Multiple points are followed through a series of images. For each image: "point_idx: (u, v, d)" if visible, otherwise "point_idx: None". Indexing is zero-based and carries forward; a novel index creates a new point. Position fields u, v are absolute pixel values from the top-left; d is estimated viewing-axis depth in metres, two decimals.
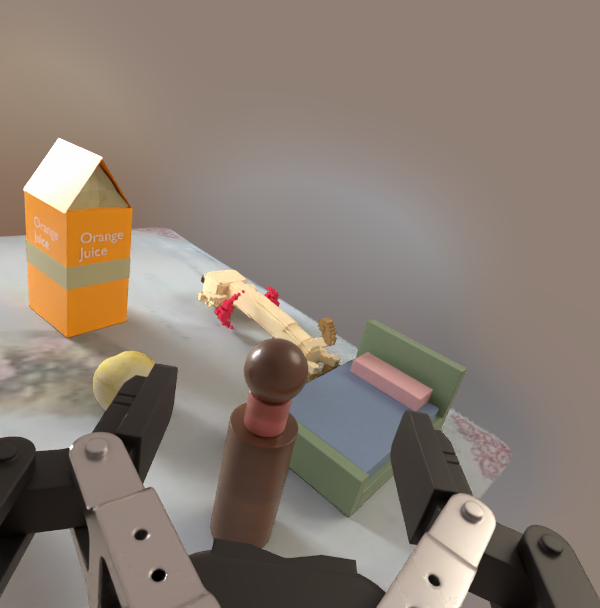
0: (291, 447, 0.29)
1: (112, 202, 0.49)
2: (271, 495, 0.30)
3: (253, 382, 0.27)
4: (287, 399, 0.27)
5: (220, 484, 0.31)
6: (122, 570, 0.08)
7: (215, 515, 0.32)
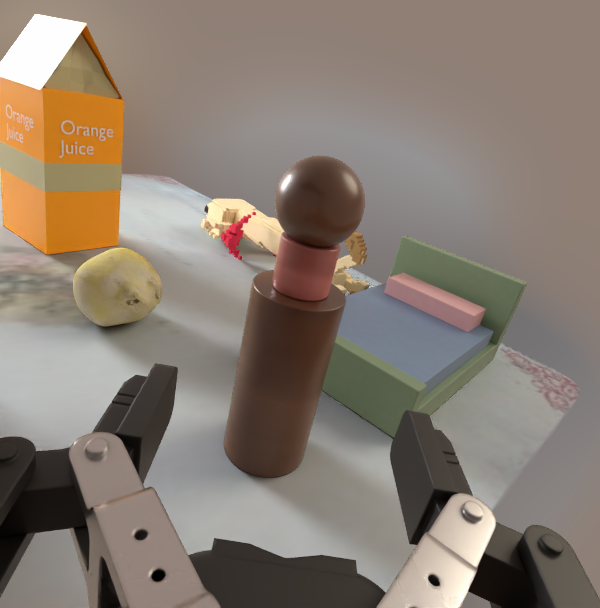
0: (338, 318, 0.21)
1: (99, 89, 0.41)
2: (309, 388, 0.22)
3: (289, 207, 0.19)
4: (337, 236, 0.19)
5: (238, 378, 0.23)
6: (122, 570, 0.08)
7: (231, 425, 0.24)
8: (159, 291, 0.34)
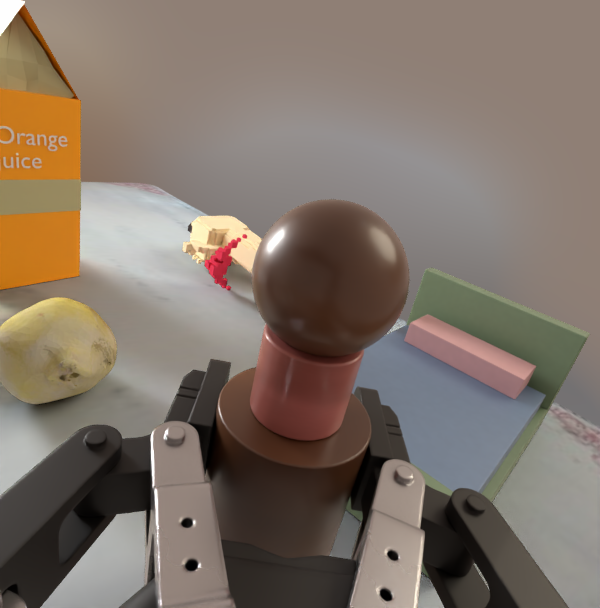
0: (359, 464, 0.13)
1: (47, 86, 0.33)
2: None
3: (276, 296, 0.10)
4: (362, 344, 0.11)
5: None
6: (161, 550, 0.08)
7: None
8: (111, 354, 0.26)
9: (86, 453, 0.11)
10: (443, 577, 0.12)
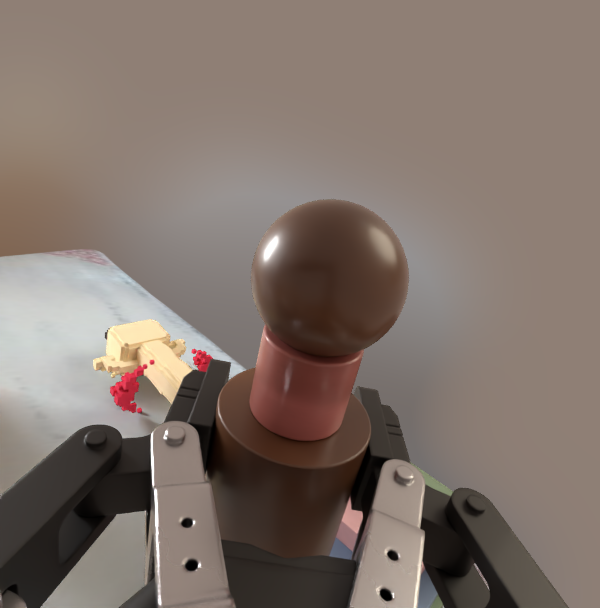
0: (359, 464, 0.13)
1: None
2: None
3: (275, 296, 0.10)
4: (361, 344, 0.11)
5: None
6: (161, 550, 0.08)
7: None
8: None
9: (86, 453, 0.11)
10: (443, 577, 0.12)
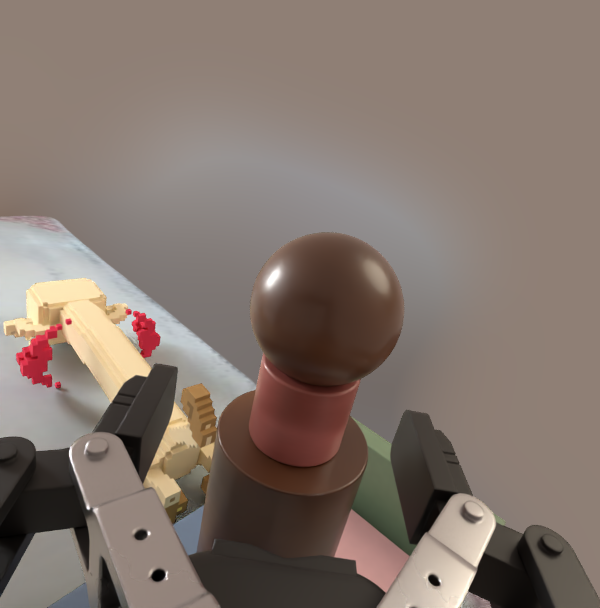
0: (356, 488, 0.13)
1: None
2: None
3: (273, 330, 0.10)
4: (357, 376, 0.11)
5: None
6: (122, 570, 0.08)
7: None
8: None
9: None
10: None
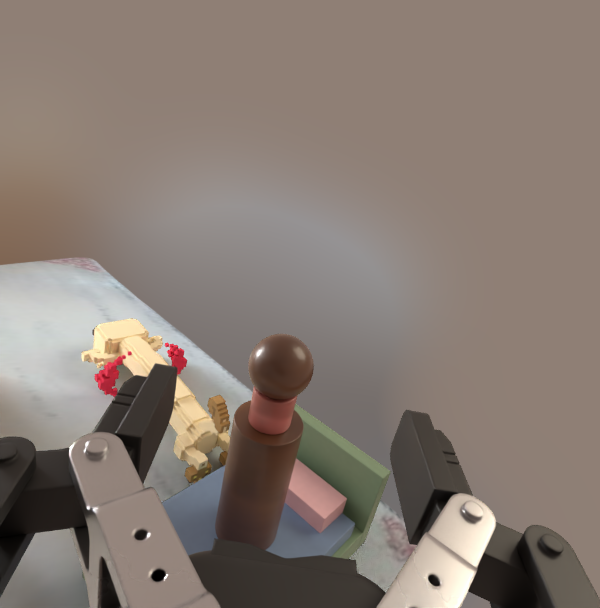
0: (296, 445, 0.29)
1: None
2: (276, 493, 0.30)
3: (257, 377, 0.26)
4: (292, 395, 0.27)
5: (224, 483, 0.31)
6: (122, 570, 0.08)
7: (220, 515, 0.32)
8: None
9: None
10: None
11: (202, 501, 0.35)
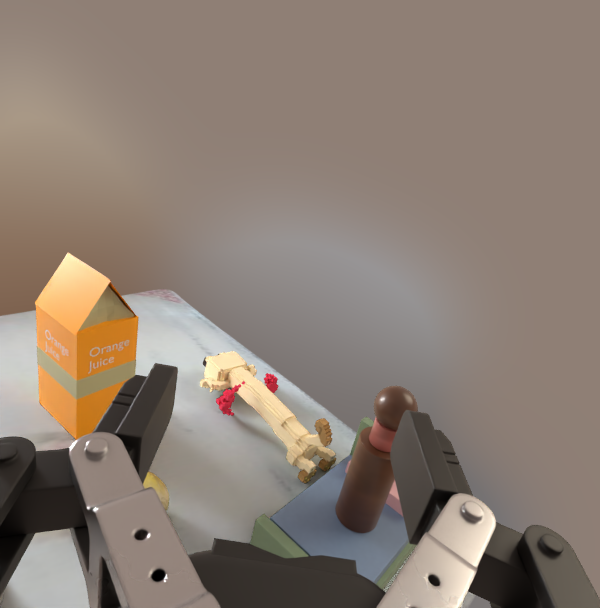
0: None
1: (119, 314, 0.52)
2: (386, 491, 0.44)
3: (384, 416, 0.41)
4: None
5: (349, 484, 0.45)
6: (122, 570, 0.08)
7: (343, 505, 0.46)
8: (167, 503, 0.45)
9: None
10: None
11: (322, 496, 0.49)
